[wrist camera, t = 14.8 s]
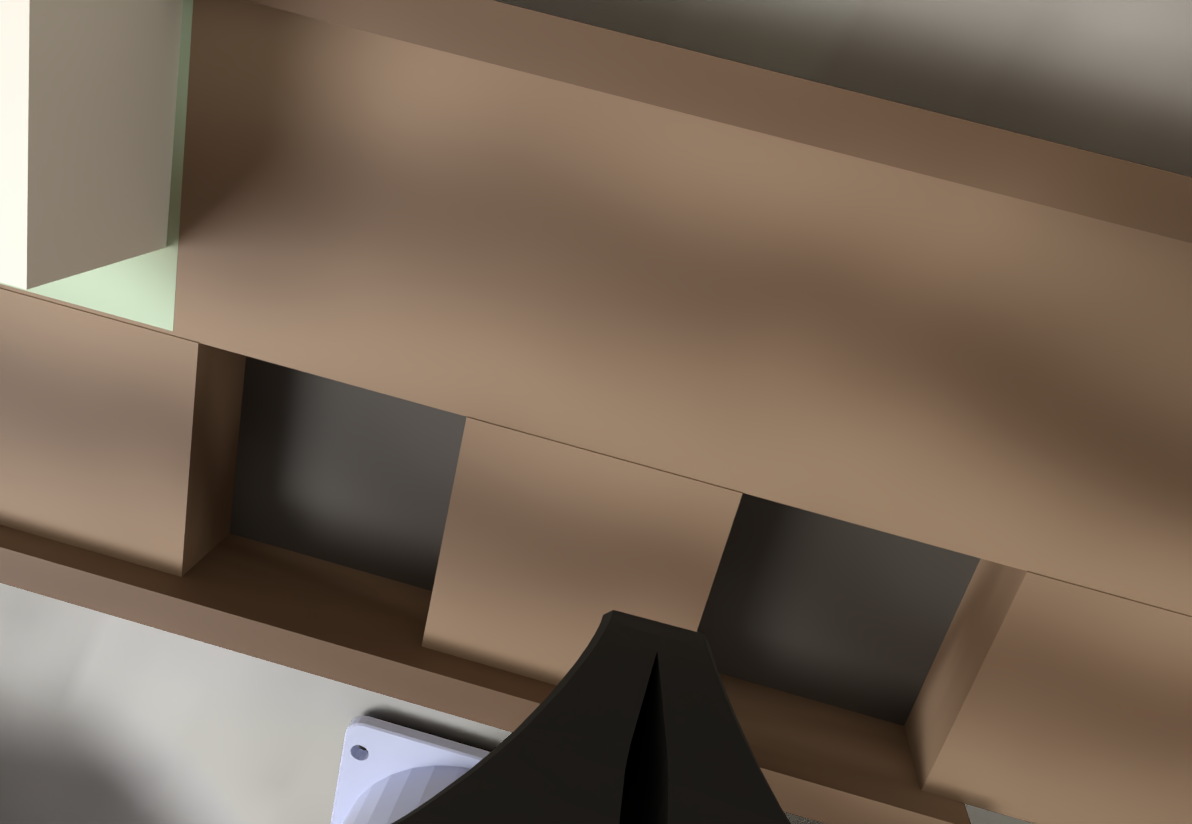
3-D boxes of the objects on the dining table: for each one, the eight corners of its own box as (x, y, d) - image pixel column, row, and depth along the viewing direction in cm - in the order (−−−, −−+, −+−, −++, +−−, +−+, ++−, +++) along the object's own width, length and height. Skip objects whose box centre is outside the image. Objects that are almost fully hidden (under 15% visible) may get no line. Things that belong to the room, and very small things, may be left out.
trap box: (1216, 844, 23) (1288, 958, 20) (-14, 491, 25) (-117, 548, 22) (1591, 280, 17) (1766, 322, 14) (-28, -129, 19) (-167, -167, 16)
